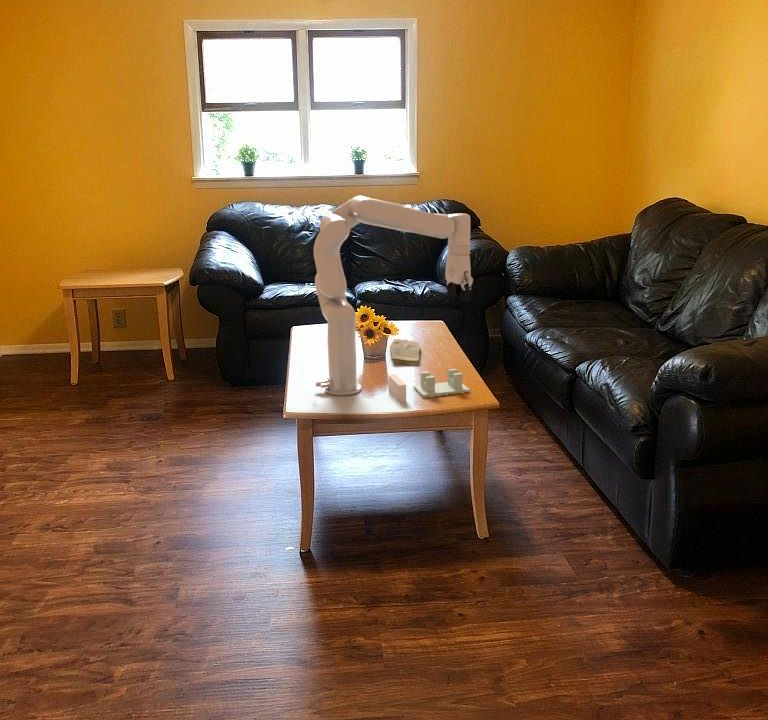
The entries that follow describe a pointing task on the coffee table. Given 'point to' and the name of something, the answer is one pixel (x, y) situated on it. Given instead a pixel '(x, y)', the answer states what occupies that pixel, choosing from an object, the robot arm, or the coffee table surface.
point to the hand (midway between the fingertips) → (458, 298)
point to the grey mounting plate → (441, 385)
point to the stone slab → (405, 352)
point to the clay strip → (397, 388)
